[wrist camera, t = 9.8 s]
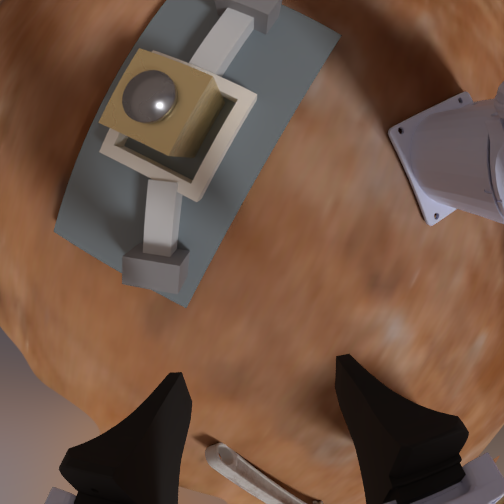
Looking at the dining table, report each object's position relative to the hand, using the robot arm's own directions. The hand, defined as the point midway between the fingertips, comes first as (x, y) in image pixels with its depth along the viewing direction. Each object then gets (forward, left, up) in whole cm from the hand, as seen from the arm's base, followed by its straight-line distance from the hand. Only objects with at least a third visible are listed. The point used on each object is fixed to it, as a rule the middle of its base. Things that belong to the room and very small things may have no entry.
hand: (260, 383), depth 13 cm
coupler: (-2, -13, -8) cm, 16 cm away
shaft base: (-2, -13, -9) cm, 16 cm away
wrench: (+12, +27, -10) cm, 31 cm away
